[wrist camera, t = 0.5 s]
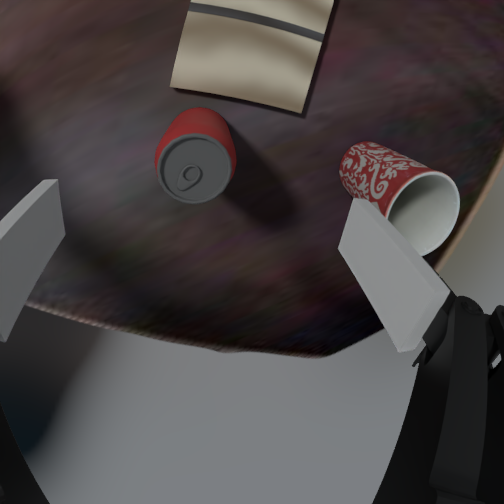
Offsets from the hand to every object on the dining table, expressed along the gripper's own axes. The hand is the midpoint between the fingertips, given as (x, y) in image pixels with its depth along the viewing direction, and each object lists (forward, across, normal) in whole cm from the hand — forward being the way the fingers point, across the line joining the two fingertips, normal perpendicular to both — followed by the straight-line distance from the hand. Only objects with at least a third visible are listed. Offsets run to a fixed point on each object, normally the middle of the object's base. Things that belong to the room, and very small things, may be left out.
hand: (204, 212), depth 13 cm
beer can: (+22, -1, -2) cm, 22 cm away
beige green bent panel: (+22, +4, +16) cm, 28 cm away
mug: (+22, +19, -5) cm, 30 cm away
